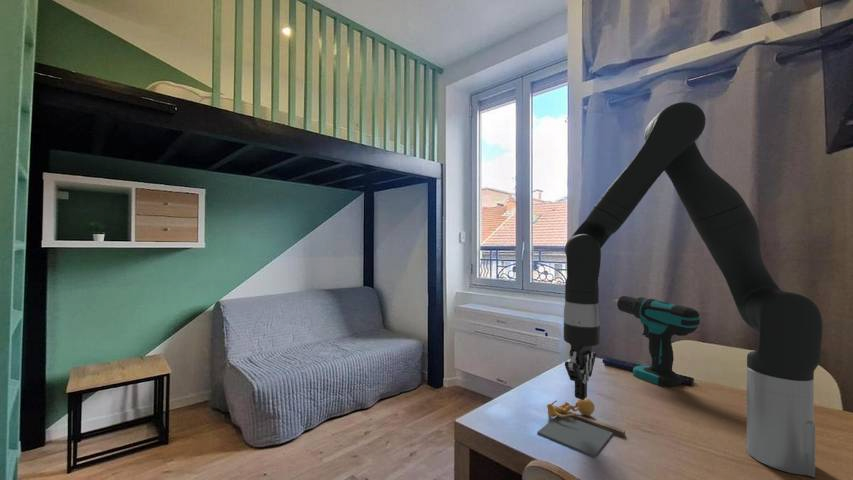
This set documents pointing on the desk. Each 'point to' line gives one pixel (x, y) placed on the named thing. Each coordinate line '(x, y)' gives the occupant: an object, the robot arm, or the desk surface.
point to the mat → (576, 434)
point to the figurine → (582, 405)
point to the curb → (597, 424)
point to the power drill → (660, 335)
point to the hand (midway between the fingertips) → (580, 397)
